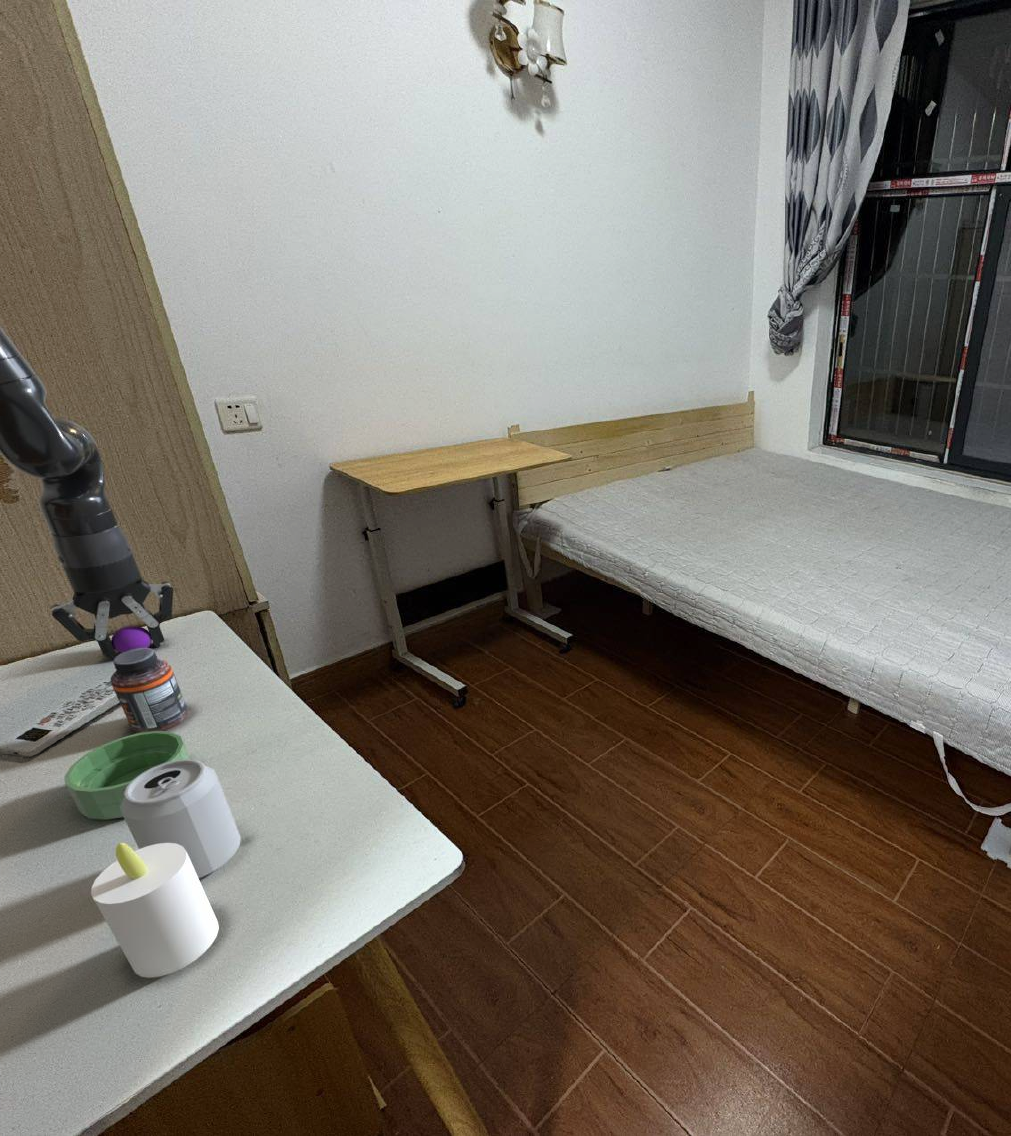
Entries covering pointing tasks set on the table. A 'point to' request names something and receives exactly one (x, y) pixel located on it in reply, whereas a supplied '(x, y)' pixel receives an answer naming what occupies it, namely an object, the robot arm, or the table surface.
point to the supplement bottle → (148, 691)
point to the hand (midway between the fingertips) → (135, 650)
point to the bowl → (118, 770)
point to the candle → (156, 908)
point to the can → (182, 813)
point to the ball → (131, 638)
